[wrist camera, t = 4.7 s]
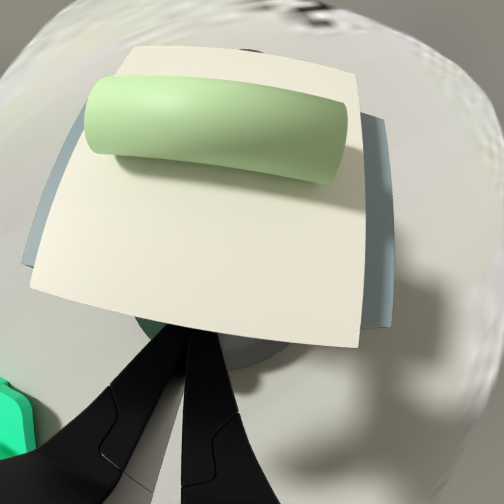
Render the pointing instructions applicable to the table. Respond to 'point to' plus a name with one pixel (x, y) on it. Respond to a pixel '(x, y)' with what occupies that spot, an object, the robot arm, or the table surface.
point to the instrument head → (223, 199)
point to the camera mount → (15, 423)
